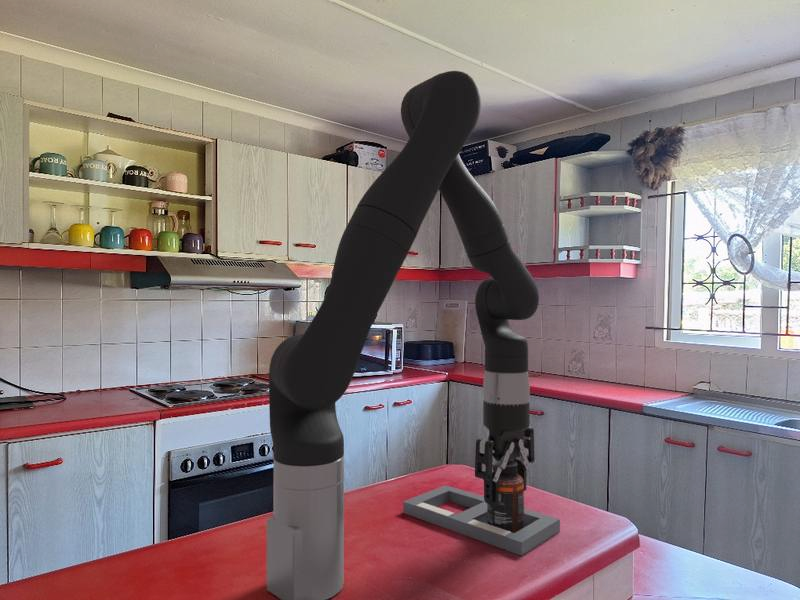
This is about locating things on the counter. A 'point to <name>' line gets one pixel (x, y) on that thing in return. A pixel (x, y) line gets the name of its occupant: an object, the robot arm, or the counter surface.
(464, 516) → the socket panel
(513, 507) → the supplement bottle
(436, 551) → the counter surface
